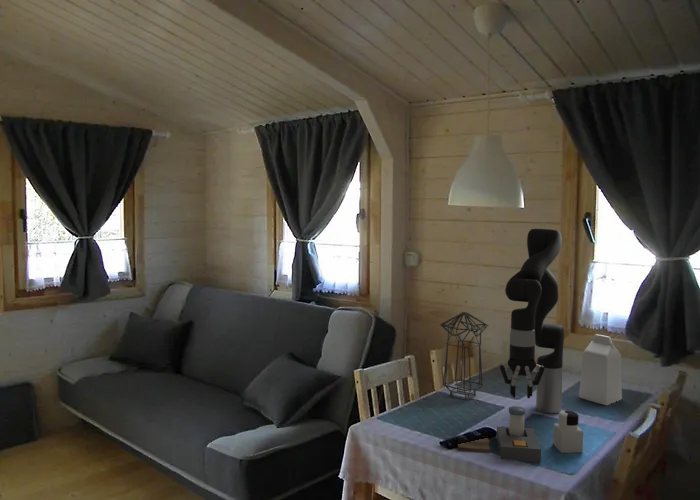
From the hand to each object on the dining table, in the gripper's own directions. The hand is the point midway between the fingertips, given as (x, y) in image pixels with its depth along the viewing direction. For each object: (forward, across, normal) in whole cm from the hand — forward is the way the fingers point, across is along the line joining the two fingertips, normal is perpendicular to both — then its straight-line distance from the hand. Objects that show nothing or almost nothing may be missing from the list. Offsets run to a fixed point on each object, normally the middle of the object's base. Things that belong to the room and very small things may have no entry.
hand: (520, 396), depth 186 cm
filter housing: (+19, 0, -6) cm, 20 cm away
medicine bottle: (+19, -16, -9) cm, 27 cm away
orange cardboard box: (+19, 0, 0) cm, 19 cm away
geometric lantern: (+19, +16, -58) cm, 63 cm away
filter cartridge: (+19, 0, -10) cm, 21 cm away
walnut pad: (+19, +14, -6) cm, 25 cm away
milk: (+20, -39, -62) cm, 76 cm away
